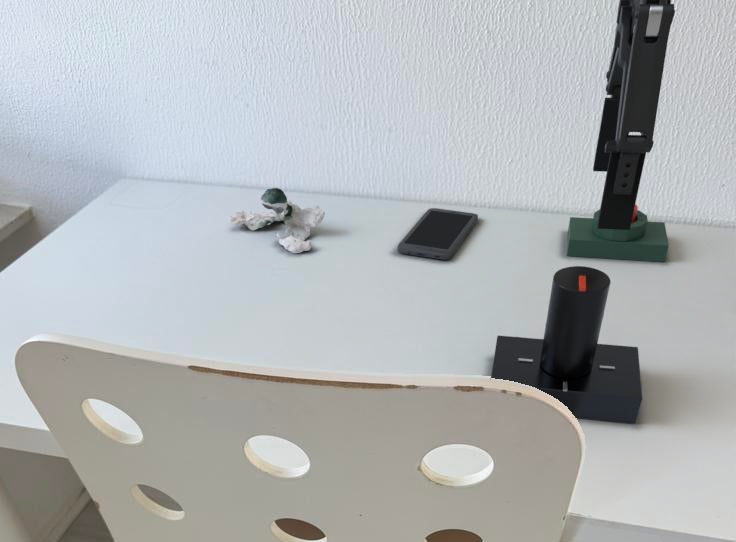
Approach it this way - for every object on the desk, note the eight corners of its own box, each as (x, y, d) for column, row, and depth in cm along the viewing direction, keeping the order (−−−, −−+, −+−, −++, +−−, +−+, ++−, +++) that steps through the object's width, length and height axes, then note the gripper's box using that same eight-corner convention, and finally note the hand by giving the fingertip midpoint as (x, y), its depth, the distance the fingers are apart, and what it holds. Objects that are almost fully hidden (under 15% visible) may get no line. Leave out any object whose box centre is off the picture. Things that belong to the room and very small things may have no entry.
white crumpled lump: (345, 222, 105) (319, 186, 98) (318, 274, 105) (291, 242, 98) (264, 200, 112) (235, 166, 105) (239, 249, 112) (208, 218, 105)
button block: (660, 238, 101) (668, 208, 99) (664, 262, 96) (672, 231, 94) (567, 233, 104) (572, 203, 101) (566, 255, 99) (571, 225, 96)
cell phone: (395, 252, 101) (395, 247, 100) (429, 212, 110) (429, 206, 109) (449, 261, 98) (449, 255, 98) (479, 218, 107) (479, 213, 107)
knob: (540, 348, 77) (554, 261, 71) (591, 352, 76) (610, 264, 70) (539, 376, 74) (553, 286, 67) (592, 380, 73) (612, 290, 66)
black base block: (631, 371, 79) (638, 344, 77) (635, 424, 73) (643, 397, 71) (494, 359, 82) (497, 333, 79) (486, 409, 75) (489, 382, 73)
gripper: (745, -66, 48) (664, 258, 62) (696, -110, 65) (642, 151, 80) (620, -64, 49) (569, 254, 64) (605, -108, 66) (568, 149, 81)
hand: (609, 197), depth 72 cm, fingers open, 13 cm apart
